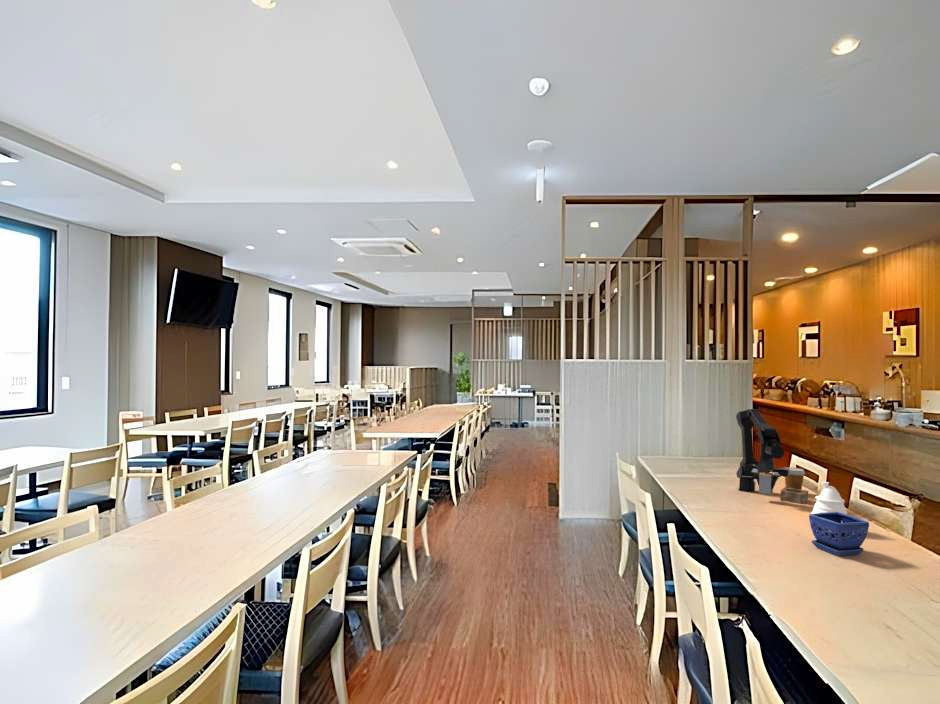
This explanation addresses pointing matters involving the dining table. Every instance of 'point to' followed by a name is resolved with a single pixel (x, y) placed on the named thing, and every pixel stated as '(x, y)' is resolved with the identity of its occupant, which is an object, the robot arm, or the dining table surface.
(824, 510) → the honey pot
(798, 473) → the disposable coffee cup
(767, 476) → the steel peg
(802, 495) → the socket block
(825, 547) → the flower pot
